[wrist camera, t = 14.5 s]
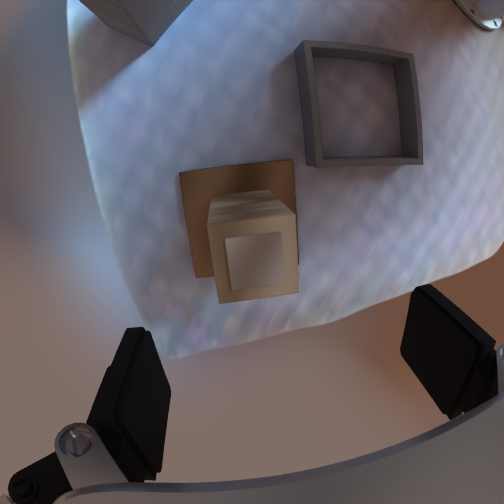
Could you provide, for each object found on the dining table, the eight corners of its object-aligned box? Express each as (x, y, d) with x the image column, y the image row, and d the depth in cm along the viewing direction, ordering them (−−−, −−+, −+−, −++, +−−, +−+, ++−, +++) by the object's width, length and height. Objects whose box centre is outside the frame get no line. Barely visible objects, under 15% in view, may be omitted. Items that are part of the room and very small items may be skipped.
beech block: (267, 189, 26) (296, 215, 17) (272, 242, 28) (299, 293, 18) (211, 196, 26) (206, 225, 16) (218, 249, 28) (219, 304, 18)
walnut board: (291, 159, 26) (292, 160, 25) (297, 262, 30) (299, 264, 29) (179, 172, 25) (179, 173, 25) (196, 275, 29) (196, 278, 28)
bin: (397, 60, 23) (412, 54, 20) (406, 161, 27) (423, 164, 24) (294, 50, 22) (303, 40, 20) (306, 165, 26) (316, 167, 24)
